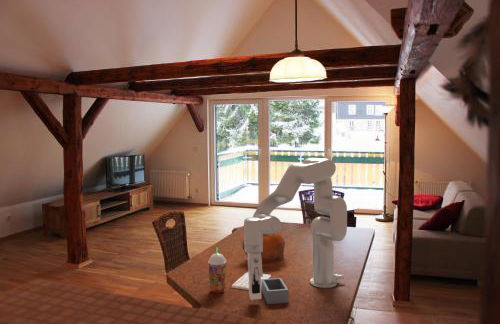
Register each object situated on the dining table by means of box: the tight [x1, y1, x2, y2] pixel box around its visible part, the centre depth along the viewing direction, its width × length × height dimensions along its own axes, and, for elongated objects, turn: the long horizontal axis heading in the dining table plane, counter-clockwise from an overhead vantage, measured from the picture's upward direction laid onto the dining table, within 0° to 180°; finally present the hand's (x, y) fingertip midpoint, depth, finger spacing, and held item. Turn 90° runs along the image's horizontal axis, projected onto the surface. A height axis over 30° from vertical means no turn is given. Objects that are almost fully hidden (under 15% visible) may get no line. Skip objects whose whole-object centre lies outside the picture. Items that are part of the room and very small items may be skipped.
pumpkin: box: [241, 230, 287, 268], centre depth 220 cm, size 22×25×23 cm
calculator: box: [231, 271, 272, 291], centre depth 187 cm, size 13×20×2 cm, turn 159°
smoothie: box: [207, 247, 227, 294], centre depth 176 cm, size 8×8×20 cm
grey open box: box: [261, 277, 290, 305], centre depth 169 cm, size 9×14×6 cm, turn 8°
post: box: [247, 268, 262, 301], centre depth 162 cm, size 4×4×12 cm
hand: (254, 290), depth 162 cm, fingers closed on post, 4 cm apart
